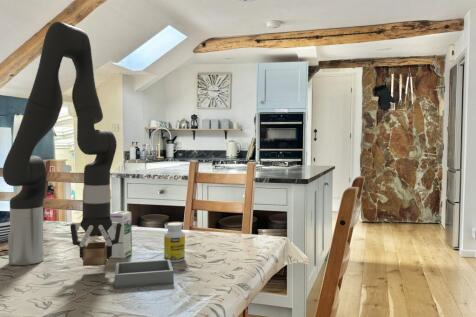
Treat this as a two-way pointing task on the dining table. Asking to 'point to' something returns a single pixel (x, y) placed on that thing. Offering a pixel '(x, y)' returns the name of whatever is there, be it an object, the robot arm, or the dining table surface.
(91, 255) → the crate small
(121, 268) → the crate big
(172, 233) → the pill bottle
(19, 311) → the dining table surface
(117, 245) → the syrup box
